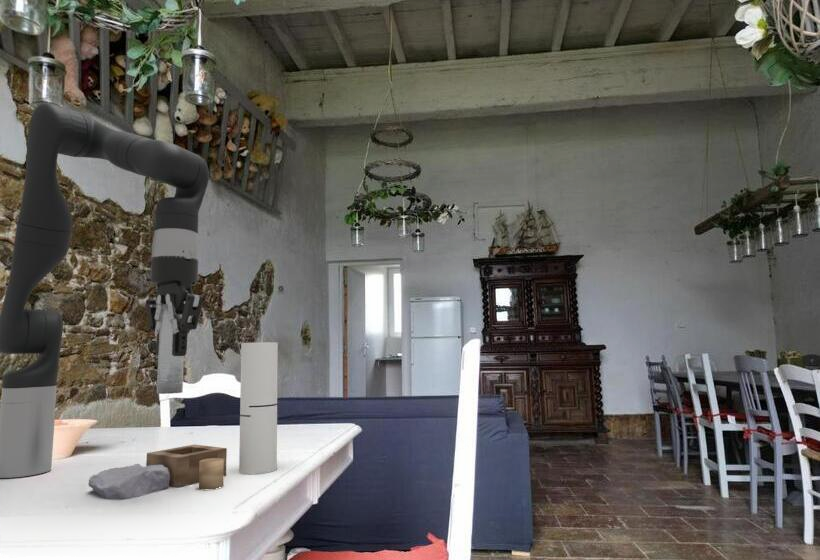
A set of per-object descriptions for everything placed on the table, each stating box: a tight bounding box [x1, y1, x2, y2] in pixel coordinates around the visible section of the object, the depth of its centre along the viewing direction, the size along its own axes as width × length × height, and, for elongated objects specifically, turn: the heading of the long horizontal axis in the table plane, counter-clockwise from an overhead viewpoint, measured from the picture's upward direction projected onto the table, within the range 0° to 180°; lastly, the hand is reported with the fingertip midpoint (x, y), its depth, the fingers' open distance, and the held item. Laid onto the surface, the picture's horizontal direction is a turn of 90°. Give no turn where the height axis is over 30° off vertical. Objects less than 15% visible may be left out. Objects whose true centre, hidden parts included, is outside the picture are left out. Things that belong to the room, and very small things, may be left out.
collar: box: [145, 444, 228, 488], centre depth 99 cm, size 10×10×5 cm
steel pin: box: [156, 304, 185, 395], centre depth 91 cm, size 4×4×15 cm
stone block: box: [87, 463, 170, 500], centre depth 91 cm, size 12×5×10 cm
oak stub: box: [198, 458, 225, 490], centre depth 92 cm, size 4×4×4 cm
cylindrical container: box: [238, 341, 279, 475], centre depth 106 cm, size 7×7×25 cm
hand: (171, 355), depth 91 cm, fingers closed on steel pin, 4 cm apart
